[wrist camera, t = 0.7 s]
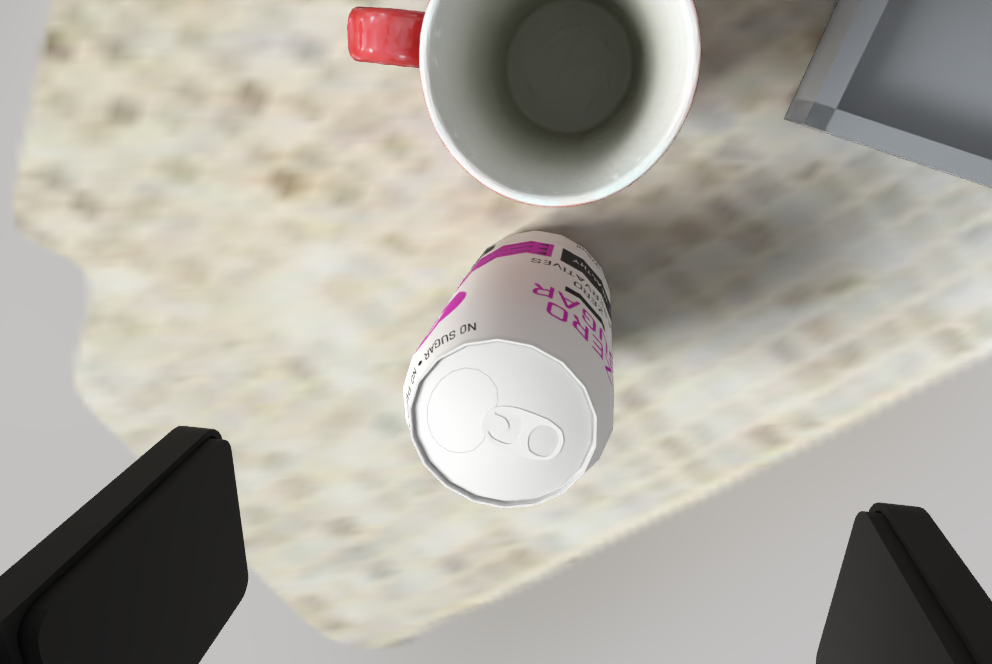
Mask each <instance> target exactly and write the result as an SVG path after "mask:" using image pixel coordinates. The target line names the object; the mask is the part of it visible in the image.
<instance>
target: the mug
mask: <svg viewBox="0 0 992 664" xmlns="http://www.w3.org/2000/svg"><path fill="white" fill-rule="evenodd" d="M347 32H348V49H349V53H350V56H351V57H352V58H353V59H354V60H356V61H359V62H371V63H378V64H385V65H397V66H403V67H415V68H419V69H420V79H421V85H422V91H423V95H424V99H425V103H426V106H427V109H428V112H429V115H430V118H431V121H432V123H433V125H434V127H435V129H436V132H437V134H438V136H439V137H440V139H441V141H442V142H443V144H444V146H445V147H446V148H447V149H448V151H449V152H450V154H451V155H452V156H453V158H454V159H455V160H456V161H457V162H458V163H459V164H460V165H461V166H462V167H463V169H464V170H465V171H466V172H468V173H469V174H470V175H471V176H472V177H474V178H475V179H476V180H477V181H478V182H480V183H481V184H483V185H484V186H486V187H487V188H489V189H491V190H492V191H494V192H496V193H498V194H500V195H502V196H504V197H507V198H509V199H512V200H514V201H517V202H520V203H524V204H528V205H535V206H542V207H571V206H577V205H582V204H587V203H591V202H594V201H598V200H601V199H604V198H606V197H608V196H610V195H613V194H615V193H617V192H619V191H621V190H623V189H624V188H626V187H628V186H630V185H631V184H632V183H634V182H635V181H636V180H638V179H639V178H640V177H641V176H643V175H644V174H645V173H646V172H647V171H648V170H649V169H651V168H652V167H653V166H654V164H655V163H656V162H657V161H658V160H659V159H660V158H661V157H662V156H663V154H664V153H665V152H666V151H667V150H668V148H669V147H670V145H671V144H672V142H673V141H674V139H675V138H676V136H677V134H678V133H679V131H680V129H681V127H682V125H683V123H684V121H685V119H686V117H687V115H688V112H689V110H690V108H691V106H692V103H693V99H694V96H695V93H696V89H697V84H698V79H699V72H700V63H701V35H700V25H699V19H698V14H697V9H696V6H695V2H694V0H429V2H428V5H427V8H426V11H425V12H419V11H409V10H401V9H392V8H374V7H355V8H354V9H352V11H351V12H350V14H349V18H348V25H347Z"/></svg>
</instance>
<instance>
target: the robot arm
mask: <svg viewBox="0 0 992 664" xmlns="http://www.w3.org/2000/svg"><path fill="white" fill-rule="evenodd" d="M247 583H248V569H247V562H246V555H245V547H244V540H243V532H242V525H241V517H240V510H239V503H238V495H237V488H236V480H235V473H234V465H233V458H232V451H231V446H230V444H229V442H228V441H226V440H222V437H221V435H220V433H219V432H218V431H217V430H215V429H207V428H197V427H188V426H178V427H176V428H175V429H173V430H172V431H171V432H170V433H168V434H167V435H166V436H165V437H164V438H162V439H161V440H160V441H159V442H158V443H157V444H155V445H154V446H153V447H152V448H151V449H150V450H148V451H147V452H146V453H145V454H144V455H142V456H141V457H140V458H139V459H138V460H137V461H135V462H134V463H133V464H132V465H131V466H130V467H128V468H127V469H126V470H125V471H124V472H122V473H121V474H120V475H119V476H118V477H117V478H115V479H114V480H113V481H112V482H111V483H110V484H108V485H107V486H106V487H105V488H104V489H102V490H101V491H100V492H99V493H98V494H97V495H95V496H94V497H93V498H92V499H91V500H90V501H88V502H87V503H86V504H85V505H84V506H82V507H81V508H80V509H79V510H78V511H77V512H75V513H74V514H73V515H72V516H71V517H70V518H68V519H67V520H66V521H65V522H64V523H63V524H61V525H60V526H59V527H58V528H56V529H55V530H54V531H53V532H52V533H51V534H49V535H48V536H47V537H46V538H45V539H44V540H42V541H41V542H40V543H39V544H38V545H36V547H34V548H33V549H32V550H31V551H29V552H28V553H27V554H26V555H25V556H24V557H22V558H21V559H20V560H19V561H18V562H17V563H15V564H14V565H13V566H12V567H11V568H9V569H8V570H7V571H6V572H5V573H4V574H2V575H1V576H0V664H199V662H200V661H201V659H202V657H203V656H204V655H205V653H206V652H207V650H208V649H209V647H210V646H211V644H212V643H213V641H214V640H215V638H216V637H217V635H218V634H219V632H220V631H221V630H222V628H223V627H224V625H225V624H226V622H227V621H228V619H229V618H230V616H231V615H232V613H233V611H234V610H235V609H236V607H237V606H238V604H239V603H240V601H241V600H242V598H243V596H244V594H245V591H246V587H247ZM816 664H992V601H991V600H990V598H989V597H988V596H987V594H986V593H985V591H984V590H983V589H982V587H981V586H980V584H979V583H978V582H977V580H976V579H975V578H974V576H973V575H972V573H971V572H970V571H969V569H968V568H967V566H966V565H965V564H964V562H963V561H962V559H961V558H960V557H959V555H958V554H957V553H956V551H955V550H954V548H953V547H952V546H951V544H950V543H949V541H948V540H947V539H946V537H945V536H944V534H943V533H942V532H941V530H940V529H939V528H938V526H937V525H936V523H935V522H934V521H933V519H932V518H931V516H930V515H929V514H928V513H927V512H926V511H925V510H924V509H923V508H920V507H914V506H905V505H896V504H887V503H875V504H873V506H872V507H871V508H870V510H869V512H864V511H861V512H859V513H858V515H857V516H856V518H855V521H854V524H853V528H852V531H851V535H850V539H849V542H848V546H847V549H846V553H845V556H844V560H843V563H842V567H841V570H840V574H839V578H838V581H837V585H836V588H835V592H834V595H833V599H832V602H831V606H830V609H829V613H828V616H827V620H826V624H825V627H824V630H823V634H822V638H821V641H820V644H819V648H818V652H817V657H816Z"/></svg>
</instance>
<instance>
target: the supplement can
mask: <svg viewBox="0 0 992 664" xmlns="http://www.w3.org/2000/svg"><path fill="white" fill-rule="evenodd" d="M403 394H404V405H405V415H406V422H407V424H408V426H409V428H410V436H411V440H412V442H413V444H414V446H415V448H416V450H417V452H418V454H419V456H420V458H421V460H422V463H423V465H424V466H425V467H426V468H427V469H428V470H429V471H430V472H431V473H432V474H433V475H434V476H435V477H436V478H437V479H438V480H439V481H440V482H441V483H442V484H443V485H444V486H445V487H446V488H448V489H450V490H452V491H454V492H456V493H457V494H459V495H461V496H463V497H465V498H467V499H469V500H470V501H472V502H476V503H481V504H485V505H490V506H495V507H500V508H513V507H524V506H535V505H537V504H540V503H542V502H544V501H547V500H549V499H551V498H554V497H556V496H558V495H561V494H563V493H564V492H565V491H566V490H567V489H568V488H569V487H570V486H571V485H572V484H573V483H574V482H576V481H577V480H578V479H579V478H580V477H581V476H582V475H583V474H584V473H585V472H586V471H587V470H588V469H589V468H590V467H591V466H593V465H594V464H595V463H596V462H597V461H598V460H599V458H600V456H601V454H602V452H603V450H604V447H605V445H606V443H607V441H608V439H609V437H610V434H611V432H612V430H613V408H614V384H613V356H612V328H611V299H610V290H609V287H608V284H607V281H606V279H605V276H604V273H603V270H602V268H601V266H600V265H599V264H598V263H597V262H596V261H595V259H594V258H593V257H592V256H591V255H590V254H589V252H588V251H587V250H586V249H585V248H584V247H582V246H580V245H579V244H577V243H575V242H573V241H571V240H570V239H568V238H566V237H564V236H563V235H559V234H553V233H547V232H542V231H536V230H535V231H529V232H524V233H518V234H512V235H509V236H507V237H505V238H504V239H502V240H500V241H498V242H497V243H495V244H493V245H492V246H490V247H488V248H487V249H486V250H485V252H484V253H483V254H482V255H481V257H480V258H479V259H478V260H477V262H476V263H475V264H474V265H473V266H472V268H471V269H470V271H469V272H468V274H467V275H466V277H465V278H464V280H463V281H462V283H461V284H460V286H459V287H458V289H457V290H456V292H455V293H454V295H453V296H452V298H451V299H450V301H449V303H448V304H447V306H446V307H445V309H444V310H443V312H442V313H441V315H440V316H439V318H438V319H437V321H436V322H435V324H434V325H433V327H432V328H431V330H430V331H429V333H428V334H427V336H426V337H425V339H424V340H423V342H422V343H421V345H420V346H419V348H418V349H417V351H416V352H415V354H414V355H413V357H412V360H411V363H410V367H409V370H408V373H407V377H406V380H405V383H404V387H403Z"/></svg>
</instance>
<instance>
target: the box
mask: <svg viewBox="0 0 992 664" xmlns="http://www.w3.org/2000/svg"><path fill="white" fill-rule="evenodd" d="M784 119H786V120H789V121H792V122H795V123H798V124H801V125H804V126H807V127H810V128H813V129H816V130H819V131H822V132H825V133H828V134H831V135H834V136H837V137H840V138H843V139H846V140H849V141H852V142H855V143H858V144H861V145H864V146H867V147H870V148H873V149H876V150H879V151H882V152H885V153H888V154H891V155H894V156H897V157H900V158H903V159H906V160H909V161H912V162H915V163H918V164H921V165H924V166H927V167H930V168H933V169H936V170H939V171H942V172H945V173H948V174H951V175H954V176H957V177H960V178H963V179H966V180H969V181H972V182H975V183H978V184H981V185H984V186H987V187H990V188H992V0H838V2H837V4H836V7H835V9H834V11H833V13H832V15H831V17H830V20H829V22H828V24H827V26H826V28H825V31H824V33H823V35H822V37H821V39H820V42H819V44H818V46H817V48H816V50H815V52H814V55H813V57H812V59H811V61H810V63H809V66H808V68H807V70H806V72H805V74H804V76H803V79H802V81H801V83H800V85H799V87H798V90H797V92H796V94H795V96H794V98H793V100H792V103H791V105H790V107H789V109H788V111H787V114H786V116H785V118H784Z"/></svg>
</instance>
